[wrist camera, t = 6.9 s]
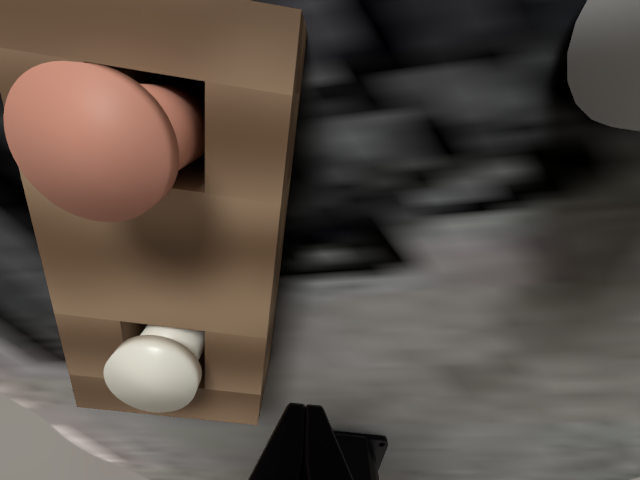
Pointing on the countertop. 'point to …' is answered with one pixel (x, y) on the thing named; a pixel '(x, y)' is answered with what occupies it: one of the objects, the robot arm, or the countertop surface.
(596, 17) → the can
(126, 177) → the brick plug
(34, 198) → the socket board
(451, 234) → the countertop surface
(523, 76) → the countertop surface
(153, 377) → the cream plug
